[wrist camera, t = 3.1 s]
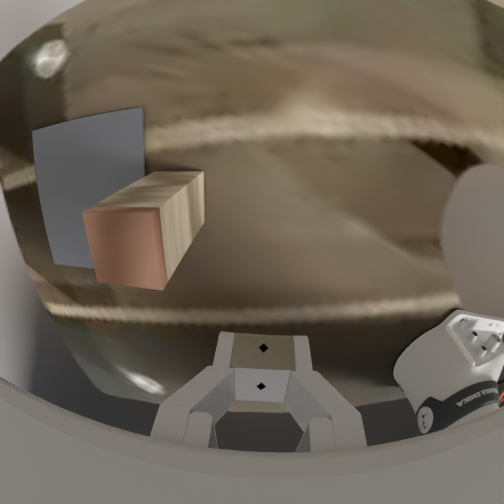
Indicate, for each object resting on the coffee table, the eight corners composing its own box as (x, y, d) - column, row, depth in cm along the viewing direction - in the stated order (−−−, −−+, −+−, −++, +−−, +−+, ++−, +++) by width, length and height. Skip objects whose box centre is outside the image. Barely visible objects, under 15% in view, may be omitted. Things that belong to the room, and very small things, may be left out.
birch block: (203, 171, 25) (152, 213, 14) (205, 220, 27) (162, 290, 17) (154, 171, 25) (82, 212, 15) (158, 219, 28) (97, 282, 17)
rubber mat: (143, 107, 22) (141, 107, 22) (156, 273, 31) (155, 275, 30) (34, 130, 23) (32, 131, 23) (56, 262, 31) (54, 264, 31)
